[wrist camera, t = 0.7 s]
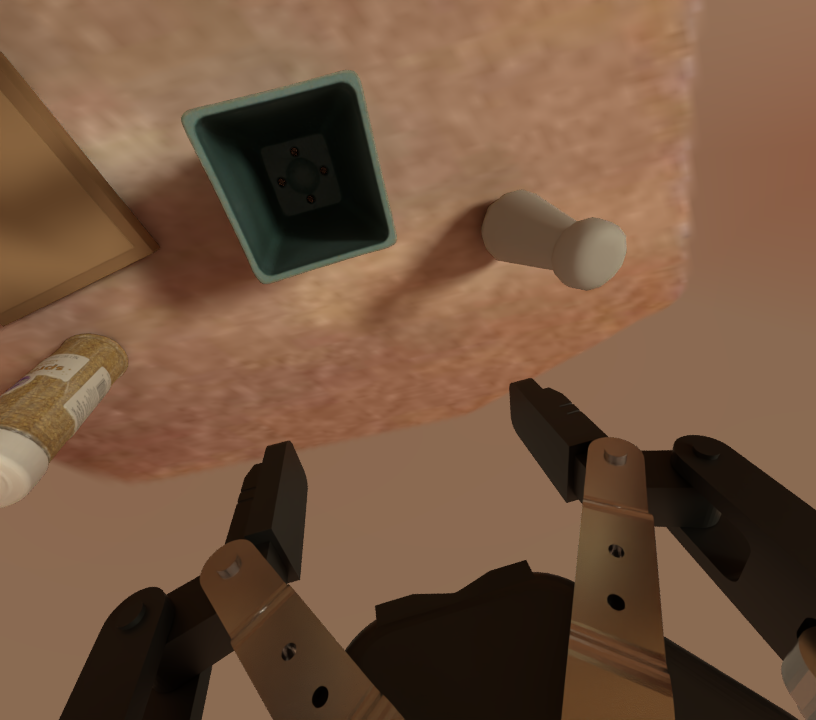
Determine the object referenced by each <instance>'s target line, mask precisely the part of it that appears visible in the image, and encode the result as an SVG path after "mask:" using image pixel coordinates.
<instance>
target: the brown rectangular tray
mask: <svg viewBox="0 0 816 720" xmlns="http://www.w3.org/2000/svg"><path fill="white" fill-rule="evenodd" d="M158 249H160V246H159V245H158V244H157V243H156V242H155V240H154V239H153V238H152V237H151V235H150V234H149V233H148V232H147V230H146V229H145V228H144V227H143V226H142V224H141V223H140V222H139V221H138V219H137V218H136V217H135V216H134V214H133V213H132V212H131V211H130V210H129V208H128V207H127V206H126V205H125V203H124V202H123V201H122V200H121V198H120V197H119V196H118V195H117V194H116V192H115V191H114V190H113V189H112V187H111V186H110V185H109V184H108V182H107V181H106V180H105V179H104V178H103V176H102V175H101V174H100V173H99V171H98V170H97V169H96V168H95V166H94V165H93V164H92V163H91V162H90V160H89V159H88V158H87V157H86V155H85V154H84V153H83V152H82V150H81V149H80V148H79V147H78V146H77V144H76V143H75V142H74V141H73V139H72V138H71V137H70V136H69V134H68V133H67V132H66V131H65V130H64V128H63V127H62V126H61V125H60V123H59V122H58V121H57V120H56V118H55V117H54V116H53V115H52V114H51V112H50V111H49V110H48V109H47V107H46V106H45V105H44V104H43V102H42V101H41V100H40V99H39V98H38V96H37V95H36V94H35V93H34V91H33V90H32V89H31V88H30V86H29V85H28V84H27V83H26V82H25V80H24V79H23V78H22V77H21V75H20V74H19V73H18V72H17V70H16V69H15V68H14V67H13V66H12V64H11V63H10V62H9V61H8V59H7V58H6V57H5V56H4V54H3V53H2V52H0V324H1V325H2V326H5V325H7V324H9V323H12V322H14V321H16V320H18V319H20V318H22V317H24V316H26V315H28V314H30V313H32V312H34V311H36V310H38V309H40V308H42V307H44V306H46V305H48V304H50V303H52V302H54V301H56V300H58V299H60V298H62V297H64V296H66V295H68V294H70V293H73V292H75V291H77V290H79V289H81V288H83V287H85V286H87V285H89V284H91V283H93V282H95V281H97V280H99V279H101V278H103V277H105V276H107V275H109V274H111V273H113V272H115V271H117V270H119V269H121V268H123V267H125V266H127V265H129V264H131V263H134V262H136V261H138V260H140V259H142V258H144V257H146V256H148V255H150V254H152V253H154V252H155V251H157V250H158Z"/></svg>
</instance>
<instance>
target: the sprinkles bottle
mask: <svg viewBox="0 0 816 720" xmlns="http://www.w3.org/2000/svg"><path fill="white" fill-rule="evenodd" d="M127 367H128V358H127V355H126V353H125V351H124V350H123V349H122V348H121V347H120V345H118V344H117V343H116V342H115V341H113V340H111V339H109V338H107V337H104V336H99V335H96V334H80V335H75V336H73V337H70V338H69V339H67V340H66V341H65V342H64V343H63V344H62V346H61V347H60V348H59V349H58V350H57V351H56V352H55V353H53V354H52V355H51V356H50V357H48V358H46V359H45V360H43V361H42V362H41V363H40V364H38V365H37V366H36V367H35V368H34V369H32V370H31V371H30V372H29V373H28V374H26V375H25V376H24V377H23V378H22V379H20V380H19V381H18V382H17V383H16V384H14V385H13V386H12V387H11V388H10V389H8V390H7V391H6V392H5V393H3V394H2V395H1V396H0V508H3V507H7V506H10V505H12V504H15V503H17V502H19V501H20V500H22V499H23V498H24V497H26V496H27V495H28V494H29V492H30V491H31V490H32V489H33V488H34V487H35V486H36V484H37V483H38V482H39V481H40V480H41V478H42V477H43V476H44V475H45V473H46V471H47V469H48V464H49V462H50V461H51V460H52V459H53V458H54V456H55V455H56V454H57V453H58V451H59V450H60V449H61V448H62V447H63V445H64V444H65V443H66V441H68V440H69V439H70V438H71V437H72V436H73V435H74V434H75V433H76V431H77V430H78V429H79V427H80V426H81V425H82V424H83V422H84V421H85V420H86V419H87V418H88V416H89V415H90V414H91V413H92V411H93V410H94V409H95V408H96V406H97V405H98V404H99V403H100V401H101V400H102V399H103V398H104V396H105V395H106V394H107V393H108V391H109V389H110V387H111V385H112V384H113V383H114V382H115V381H116V380H117V379H118V378H119V377H121V376H122V375H123V374H124V372H125V371H126V369H127Z"/></svg>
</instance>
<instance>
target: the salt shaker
mask: <svg viewBox="0 0 816 720" xmlns="http://www.w3.org/2000/svg"><path fill="white" fill-rule="evenodd" d="M481 234H482V238H483V241H484V244H485V247H486V249H487V250H488V252H489V253H490V254H491V255H492V256H493V257H494V258H495V259H496V260H498V261H504V262H509V263H515V264H521V265H527V266H532V267H538V268H543V269H549V270H553V271H554V273H555V275H556V276H557V277H558V278H559V279H560V280H561V282H562V283H564V284H565V285H566V286H568V287H572V288H576V289H581V290H586V291H588V290H591V289H595V288H598V287H601V286H602V285H603V284H604V283H606V282H607V281H608V280H610V279H611V278H612V277H613V276H614V275H615V274H616V273H617V271H618V270H619V269H620V267H621V266H622V264H623V261H624V258H625V255H626V250H627V248H626V235H625V234H624V233H623V231H622V230H621V228H620V227H619V226H618V225H616V224H614V223H612V222H610V221H606V220H603V219H600V218H594V217H592V218H588V219H584V220H581V221H576V220H574V219H573V218H571V217H570V216H568V215H567V214H565V213H564V212H562V211H561V210H559V209H558V208H556V207H555V206H553V205H552V204H550V203H549V202H547V201H546V200H544V199H543V198H541V197H540V196H538V195H537V194H535V193H531V192H528V191H525V190H517V191H513V192H510V193H506V194H504V195H503V196H501V197H500V198H499V199H498V200H496V201H495V202H494V203H493V204H492V205H490V206H489V207H488V209H487V212H486V215H485V218H484V221H483V224H482V227H481Z"/></svg>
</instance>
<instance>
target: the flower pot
mask: <svg viewBox="0 0 816 720" xmlns="http://www.w3.org/2000/svg"><path fill="white" fill-rule="evenodd" d="M181 122H182V125H183V127H184V130H185V132H186V134H187V136H188V138H189V140H190V142H191V144H192V146H193V148H194V150H195V152H196V154H197V156H198V158H199V160H200V162H201V164H202V166H203V168H204V170H205V172H206V174H207V176H208V178H209V180H210V182H211V184H212V186H213V188H214V190H215V192H216V194H217V196H218V198H219V200H220V202H221V204H222V206H223V208H224V211H225V213H226V215H227V217H228V219H229V221H230V223H231V225H232V227H233V229H234V231H235V233H236V236H237V237H238V240H239V242H240V244H241V246H242V248H243V250H244V253H245V255H246V257H247V259H248V261H249V264H250V266H251V268H252V271H253V273H254V274H255V276H256V278H257V279H258V280H259V281H260V282H261V283H263V284H270V283H273V282H277V281H280V280H283V279H286V278H289V277H292V276H295V275H298V274H302V273H304V272H308V271H311V270H314V269H317V268H320V267H324V266H327V265H330V264H333V263H337V262H340V261H343V260H346V259H350V258H353V257H357V256H360V255H363V254H367V253H371V252H374V251H378V250H382V249H385V248H388V247H390V246H392V245H394V244H395V243H396V240H397V235H396V229H395V226H394V222H393V217H392V214H391V210H390V205H389V201H388V197H387V193H386V189H385V184H384V180H383V176H382V172H381V168H380V163H379V159H378V155H377V150H376V146H375V141H374V137H373V133H372V129H371V124H370V120H369V115H368V111H367V106H366V102H365V97H364V92H363V88H362V85H361V81H360V78H359V77H358V75H357V74H356V73H355V72H354V71H351V70H344V71H339V72H335V73H332V74H328V75H325V76H321V77H318V78H314V79H311V80H307V81H303V82H299V83H296V84H292V85H289V86H284V87H280V88H277V89H272V90H269V91H265V92H261V93H257V94H252V95H248V96H244V97H239V98H236V99H232V100H228V101H223V102H219V103H215V104H211V105H206V106H203V107H198V108H194V109H190V110H188V111H186V112H185V113H184V114H183V115H182V117H181ZM293 147H295V148H296V149H297V150H298V155H297V156H293V155H292V154H291V151H290V150H291V148H293ZM323 166H324V167H326V169H327V173H326V174H322V173H321V172H320V168H321V167H323ZM280 178H283V179H284V180H285V182H286V183H285V185H284V186H281V185H279V183H278V180H279V179H280ZM308 196H313V197H314V201H313V202H312V203H310V202H308V200H307V198H308Z"/></svg>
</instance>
